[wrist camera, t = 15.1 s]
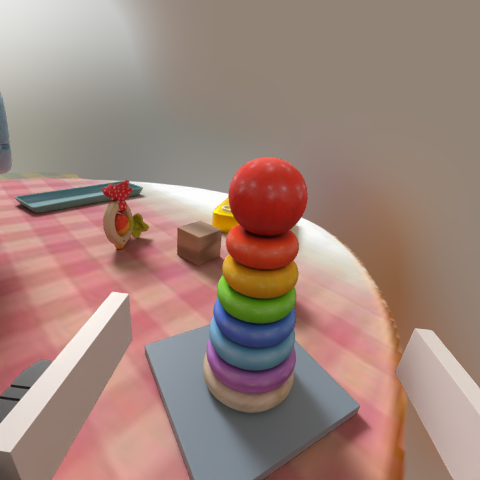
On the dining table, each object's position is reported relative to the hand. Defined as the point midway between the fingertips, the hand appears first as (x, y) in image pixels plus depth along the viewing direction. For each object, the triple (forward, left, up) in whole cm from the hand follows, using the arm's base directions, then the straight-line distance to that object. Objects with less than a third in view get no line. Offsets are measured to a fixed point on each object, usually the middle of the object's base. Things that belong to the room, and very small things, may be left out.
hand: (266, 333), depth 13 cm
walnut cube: (+10, +30, -13) cm, 35 cm away
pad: (+4, +6, -13) cm, 15 cm away
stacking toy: (+4, +6, -12) cm, 14 cm away
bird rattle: (0, +39, -13) cm, 42 cm away
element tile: (+28, +40, -13) cm, 51 cm away
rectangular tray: (-3, +67, -13) cm, 69 cm away
